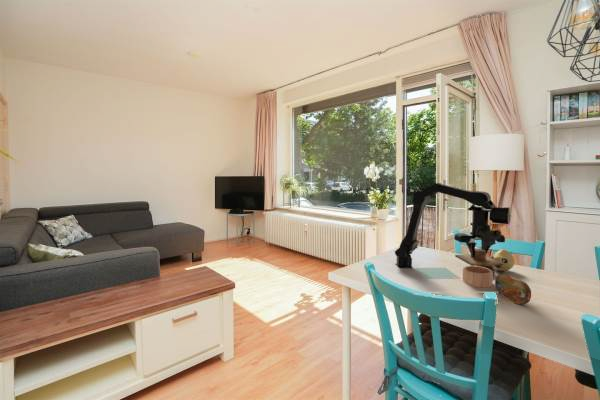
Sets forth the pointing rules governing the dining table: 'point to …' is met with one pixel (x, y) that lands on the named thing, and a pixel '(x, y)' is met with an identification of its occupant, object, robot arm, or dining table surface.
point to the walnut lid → (479, 259)
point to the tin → (513, 289)
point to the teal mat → (437, 273)
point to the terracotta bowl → (477, 276)
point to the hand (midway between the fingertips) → (478, 257)
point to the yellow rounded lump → (503, 260)
